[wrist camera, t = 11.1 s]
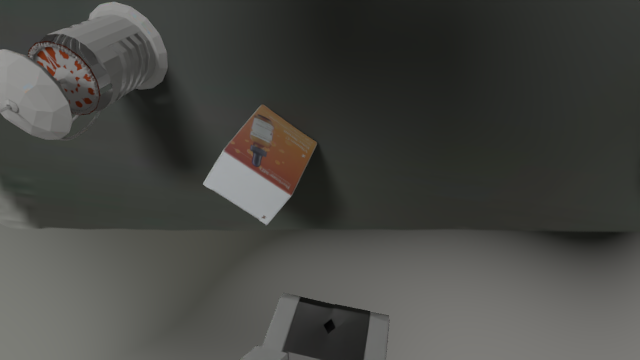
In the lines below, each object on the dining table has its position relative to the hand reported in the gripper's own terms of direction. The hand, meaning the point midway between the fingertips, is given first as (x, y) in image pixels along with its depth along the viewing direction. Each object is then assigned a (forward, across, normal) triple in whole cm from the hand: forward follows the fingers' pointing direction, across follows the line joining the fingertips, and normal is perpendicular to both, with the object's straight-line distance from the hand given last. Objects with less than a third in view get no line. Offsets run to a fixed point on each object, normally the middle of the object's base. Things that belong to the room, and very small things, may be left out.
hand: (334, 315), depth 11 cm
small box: (+31, +12, +14) cm, 36 cm away
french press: (+31, +30, +6) cm, 44 cm away
